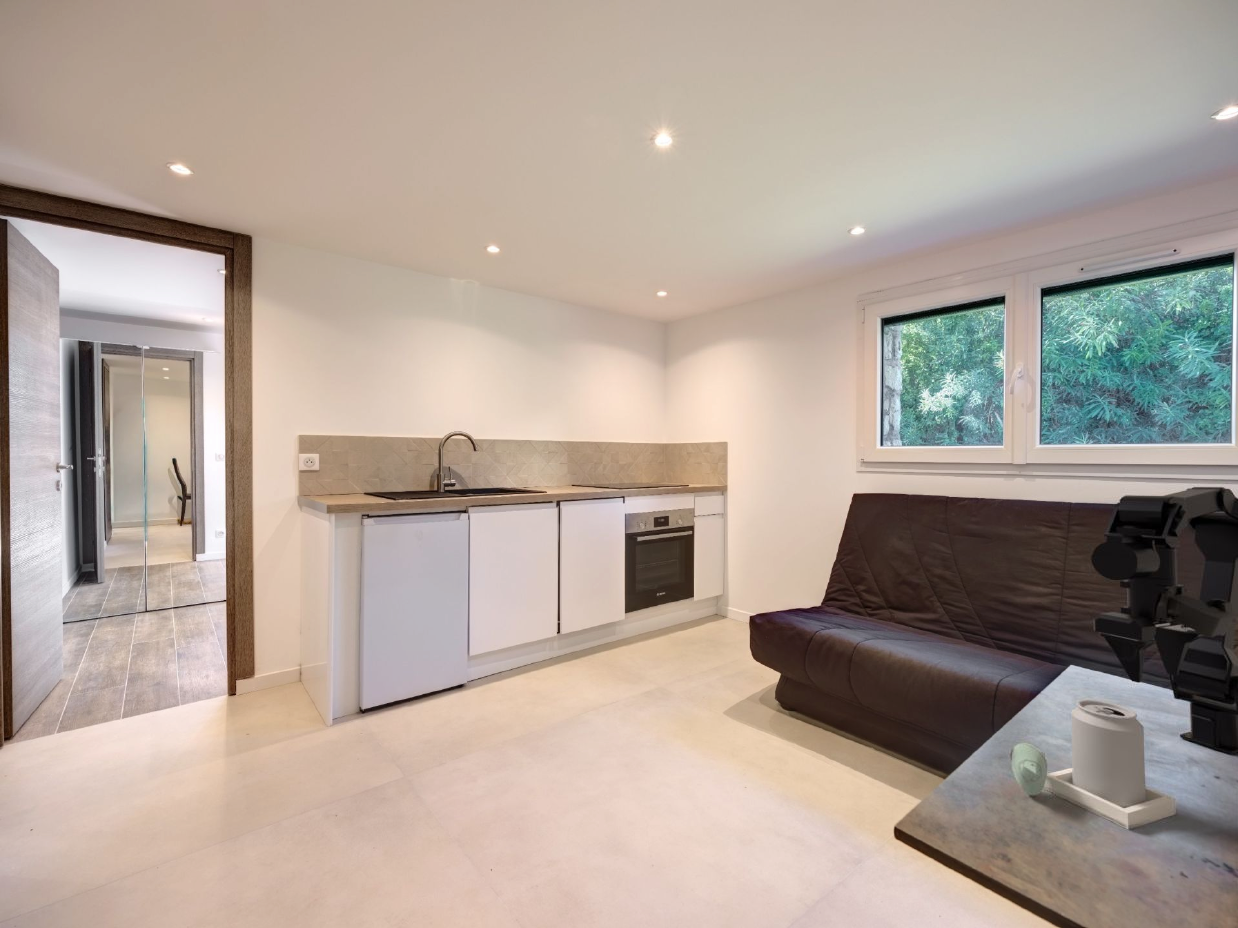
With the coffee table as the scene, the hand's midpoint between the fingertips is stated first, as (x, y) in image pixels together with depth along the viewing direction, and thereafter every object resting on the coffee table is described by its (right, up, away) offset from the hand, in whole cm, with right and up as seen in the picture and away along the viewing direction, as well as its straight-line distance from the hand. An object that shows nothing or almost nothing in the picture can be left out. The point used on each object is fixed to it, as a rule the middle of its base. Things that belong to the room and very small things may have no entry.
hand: (1154, 678), depth 86 cm
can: (-16, -12, -11) cm, 23 cm away
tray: (-17, -13, -11) cm, 23 cm away
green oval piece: (-26, -13, -9) cm, 30 cm away
